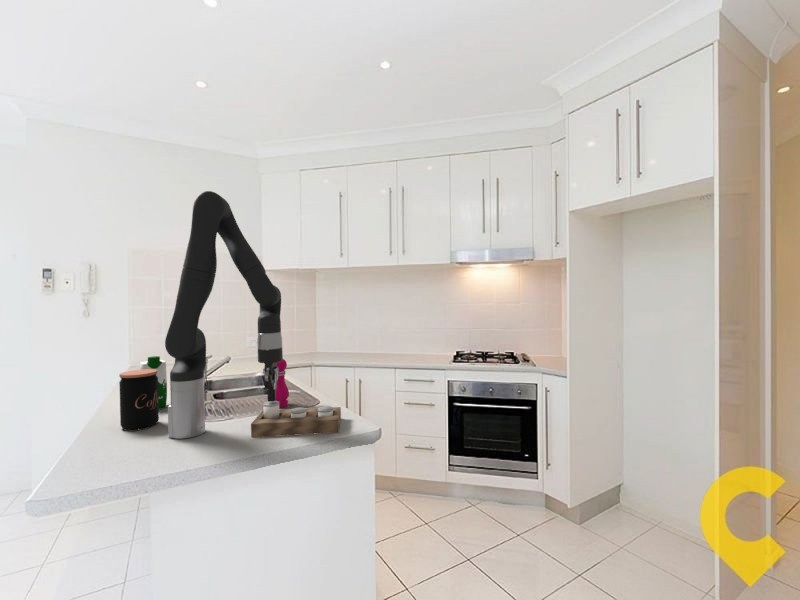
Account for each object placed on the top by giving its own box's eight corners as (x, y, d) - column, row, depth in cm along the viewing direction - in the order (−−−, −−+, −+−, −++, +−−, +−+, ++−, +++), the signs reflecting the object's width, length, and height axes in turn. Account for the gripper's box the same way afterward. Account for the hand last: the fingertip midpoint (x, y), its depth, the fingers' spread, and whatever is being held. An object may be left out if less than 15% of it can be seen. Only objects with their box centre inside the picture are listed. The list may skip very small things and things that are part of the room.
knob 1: (261, 421, 123) (261, 405, 123) (265, 416, 128) (265, 401, 128) (277, 420, 124) (277, 404, 124) (281, 415, 129) (280, 400, 129)
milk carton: (142, 412, 147) (140, 359, 147) (139, 407, 154) (137, 356, 154) (169, 407, 153) (167, 356, 153) (165, 403, 160) (163, 354, 160)
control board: (251, 437, 119) (250, 423, 119) (262, 422, 133) (262, 410, 132) (338, 432, 121) (338, 419, 121) (340, 418, 135) (340, 406, 135)
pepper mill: (283, 409, 148) (282, 355, 148) (266, 408, 150) (265, 355, 150) (292, 403, 155) (291, 353, 155) (275, 403, 157) (274, 352, 157)
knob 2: (317, 426, 125) (316, 410, 125) (318, 421, 130) (318, 406, 130) (332, 425, 125) (332, 410, 125) (333, 421, 130) (333, 406, 130)
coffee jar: (136, 432, 125) (135, 375, 125) (112, 429, 128) (111, 374, 128) (166, 422, 135) (165, 369, 135) (143, 419, 138) (142, 368, 138)
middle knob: (289, 428, 124) (289, 412, 124) (292, 423, 129) (292, 407, 129) (305, 427, 125) (305, 411, 125) (307, 422, 130) (307, 407, 129)
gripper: (263, 344, 132) (264, 396, 132) (252, 350, 119) (254, 407, 119) (286, 343, 133) (287, 395, 133) (277, 349, 120) (279, 405, 120)
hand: (271, 400), depth 126 cm, fingers closed
